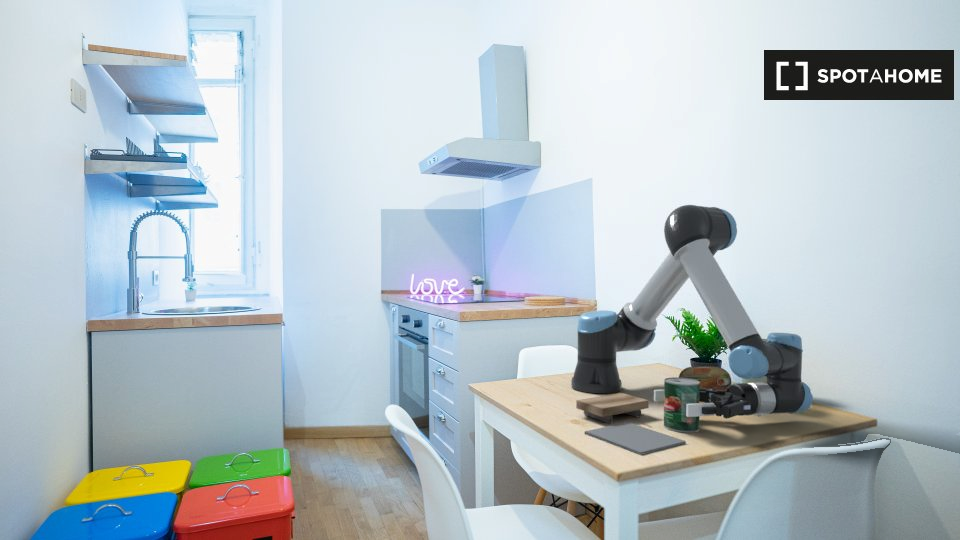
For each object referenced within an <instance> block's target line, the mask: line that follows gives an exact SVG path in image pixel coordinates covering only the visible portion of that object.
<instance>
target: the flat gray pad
mask: <svg viewBox="0 0 960 540" xmlns="http://www.w3.org/2000/svg"><path fill="white" fill-rule="evenodd" d="M584 434H585V435H588V436H590V437H592V438H595V439H599V440H601V441H603V442H606V443H609V444H611V445H613V446H617V447H619V448H621V449H624V450H626V451H629V452H632V453H635V454H638V455H641V456H642V455H645V454H646V455H647V454H649V453H653V452H657V451H662V450H665V449H669V448H673V447H677V446H681V445H684V444H686V442H687V441H686V440H683V439H681V438H678V437H674V436H671V435H668V434H666V433H663V432H659V431H656V430H653V429H649V428H647V427H645V426H641V425H637V424H634V423H632V422H624V423H618V424H614V425H609V426H604V427H599V428H594V429H589V430H585V431H584ZM680 444H681V445H680ZM676 445H677V446H676Z"/></svg>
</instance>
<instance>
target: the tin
mask: <svg viewBox="0 0 960 540" xmlns="http://www.w3.org/2000/svg"><path fill="white" fill-rule="evenodd" d="M678 377H679V378H689V379H694V380H697V381H699V382H700V388H705V389H709V388H714V389H716V391H718V390H724V391H725V392H726V391H727V389H728V387H729V386H730V385H732V378H731V375H730V373H729V372H728V370H726V369H724V368H723V367H718V366H688V367H686V368H684V369H682V370H681V371H680V373H679V375H678Z"/></svg>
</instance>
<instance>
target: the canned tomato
mask: <svg viewBox="0 0 960 540" xmlns="http://www.w3.org/2000/svg"><path fill="white" fill-rule="evenodd" d="M663 381H664V382H663V383H664V385H663V386H664V388H663V390H664V401H663V427H664V428H665V429H667V430H669V431H673V432H677V433H685V432H686V433H690V434H691V432H692V433H696V432H699V431H700V416H696V417H687V416H686V404H694V403H700V402H699V401H700V400H699V398H700V396H699V395H700V382H699V381H697V380H694V379H689V378H679V376H678V377H677V376H676V377H675V376H674V377H671V376H670V377H666V378H664V380H663Z"/></svg>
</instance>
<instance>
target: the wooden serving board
mask: <svg viewBox="0 0 960 540" xmlns="http://www.w3.org/2000/svg"><path fill="white" fill-rule="evenodd" d="M649 403H650V400H649V399H645V398H641V397H638V396H634V395H630V394H627V393H623V392H617V393H611V394H607V395H602V396H601V395H600V396H595V397H590V398H589V397H588V398H582V399H576V405H575V406H576V409H578V410H580V411H582V412H583V415H584V416H586V417H587V416H588V417H590V418H593V419H597V420H598V421H602V422H605V423H608V424H611V423H613V420H614V416H615V415H619V414H621V415H622V414H626V415H629V416H632V417H636V418H640V417H641V416H642V410H645V409H647V410H648V409H649V408H650V407H649Z"/></svg>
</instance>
